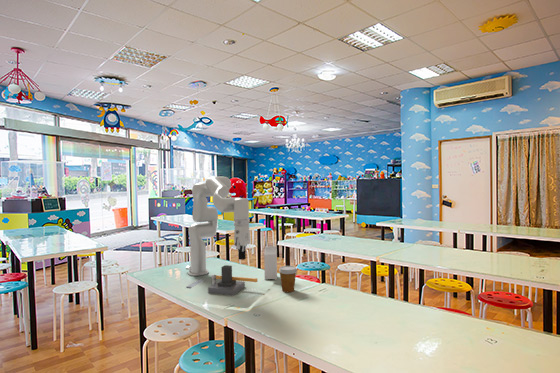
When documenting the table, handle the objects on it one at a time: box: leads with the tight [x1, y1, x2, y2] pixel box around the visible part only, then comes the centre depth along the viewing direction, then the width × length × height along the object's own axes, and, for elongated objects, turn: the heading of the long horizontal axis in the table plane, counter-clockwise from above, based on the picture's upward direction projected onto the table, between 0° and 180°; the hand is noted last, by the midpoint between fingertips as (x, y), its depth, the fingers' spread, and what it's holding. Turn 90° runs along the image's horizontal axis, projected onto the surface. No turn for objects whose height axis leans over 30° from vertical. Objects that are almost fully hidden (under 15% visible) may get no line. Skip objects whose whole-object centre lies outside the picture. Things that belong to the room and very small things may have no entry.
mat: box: [186, 278, 206, 289], centre depth 182 cm, size 14×14×1 cm
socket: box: [207, 278, 246, 296], centre depth 169 cm, size 17×14×6 cm
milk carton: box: [263, 245, 278, 281], centre depth 193 cm, size 7×7×19 cm
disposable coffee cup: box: [278, 265, 298, 293], centre depth 170 cm, size 10×10×12 cm
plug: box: [218, 264, 237, 287], centre depth 169 cm, size 7×7×12 cm
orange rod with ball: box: [211, 274, 258, 283], centre depth 171 cm, size 26×3×2 cm, turn 73°
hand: (242, 259), depth 163 cm, fingers closed
